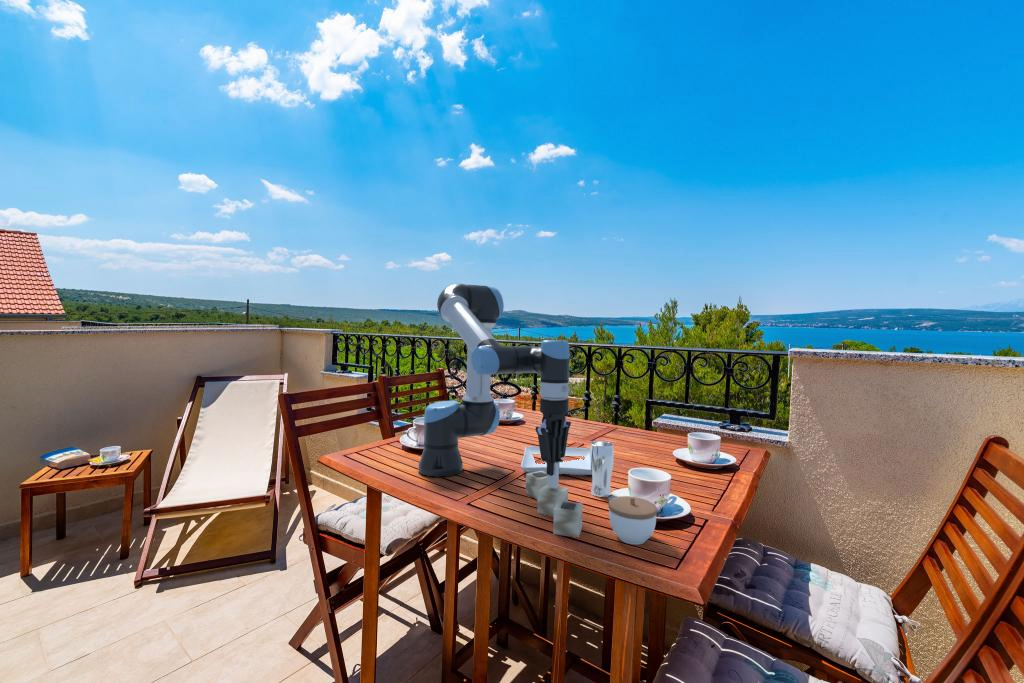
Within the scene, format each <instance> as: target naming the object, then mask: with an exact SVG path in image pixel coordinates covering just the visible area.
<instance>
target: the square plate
mask: <svg viewBox="0 0 1024 683" xmlns="http://www.w3.org/2000/svg"><path fill="white" fill-rule="evenodd" d="M532 454H540V447H539V446H525V447H524V453H523V457H522V460H521V463H520V468H521V469H522V470H523V471H524V472H525V473H532V472H537V471H544V472H546V473H547V463H545V464H542V463H541V464H538V463H537V464H536V463H535V460H534V457H533V455H532ZM565 456H582V457H583V456H584V457H585V459H584V460H583V459H581V458H580V459H579V460H578V459H577V460H571V461H567V462H566V461H565V462H564V461H563V462H559V475H562V474H570V475H569V476H587V475H588V476H592V473H591V467H590V447H572V446H569V447H568V446H566V451H565Z"/></svg>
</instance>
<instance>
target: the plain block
mask: <svg viewBox="0 0 1024 683" xmlns="http://www.w3.org/2000/svg"><path fill="white" fill-rule="evenodd" d="M558 500H561V501H568V502H569V488H568V487H564V486H559V487H557V488H552V487H549V486H547V485H545V486H544V487H542V488H541V489H539V490H538V500H537V508H536V509H537V514H540V515H544V516H547V515H548V517H551V516H552V518H554V508H555V506H556V504H557V502H558Z"/></svg>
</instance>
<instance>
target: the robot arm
mask: <svg viewBox="0 0 1024 683" xmlns="http://www.w3.org/2000/svg"><path fill="white" fill-rule="evenodd" d="M436 307H437V311H438V313H439V315H440V317H441V318H442V319H443V320H444V321H445V322H447V323H449V324H450V325H451V326H452V327H453V329H454V330H455V331H456V333H457V334H458V335H459V336H460V338H461V339H462V341H463V342H464V344H465V345H466V346H467V354H466V355H467V358H466V359H467V360H466V385H465V386H466V389H465V390H466V391H465V392H466V393H465V394H464V395H463V396H462V397H461V404H459V401H457V400H442V401H436V402H432V403H431V404H427V406H426V407H425V410H424V417H423V423H424V424H423V426H424V427H423V451H422V454H421V457H420V461H419V462H418V470H419V471H418V473H419V472H420V473H421V474H420V473H419V474H420V475H422V474H424V475H427V476H426V477H429V476H435V477H434V478H442V477H441V476H447V477H451V476H450V475H453V476H456V475H458V473H459V474H460V473H462V472H463V470H464V462H463V460H462V455H461V453H460V449H459V439H462V438H471V437H478V436H480V437H481V436H482V437H484V436H485V435H491V434H493V433H494V432H495V430H497V428H498V426H499V424H500V418H501V416H500V415H501V414H500V410H499V408H500V407H499V405H498V404H497V402H495V398H494V397H493V396H492V395H491V376H493V375H503V374H505V375H506V374H507V375H508V374H540V379H539V380H540V383H539V384H540V386H539V387H540V388H539V395H540V397H541V398H540V400H539V411H540V413H542V419H541V424H540V425H539V426H536V427H535V433H536V434H537V439H538V447H540V454H541V460H542V461H544V462H546V463H547V486H549V487H552V488H557V487H559V485H560V484H559V483H560V482H559V481H560V480H559V478H560V476H559V475H560V474H559V462H563V459H561V458H564V457H565V451H566V447H567V443H568V438H569V437H568V436H569V430H570V429H571V424H572V422H571V421H570V420H567V418H566V414H569V399H568V397H569V390H570V389H569V382H570V358H571V355H570V345H569V342H568V340H564V339H563V340H561V339H559V340H558V339H556V340H555V339H549V340H548V339H545V340H544V339H543V340H542V341H541V343H540V346H536V345H535V346H534V345H523V346H521V345H520V346H518V345H517V346H510V345H509V346H507V345H506V346H504V345H503V346H502V345H501V344H500V343H499V342H498V341H497V340H496V338H494V336H493V328H494V327H495V326H496V325H497V321H498V319H500V318H501V317H502V316H503V312H504V307H505V305H504V299H503V296H502V293H501V292H500V291H499V289H497V288H496V287H495V286H494V287H492V286H488V285H476V284H464V283H453V284H451V285H448V286H446V287H445V288H444V289H443V290H442V291H441V292H440V293H439V295H438V298H437V303H436ZM461 471H462V472H461ZM455 474H456V475H455ZM424 475H423V476H424Z"/></svg>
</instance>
